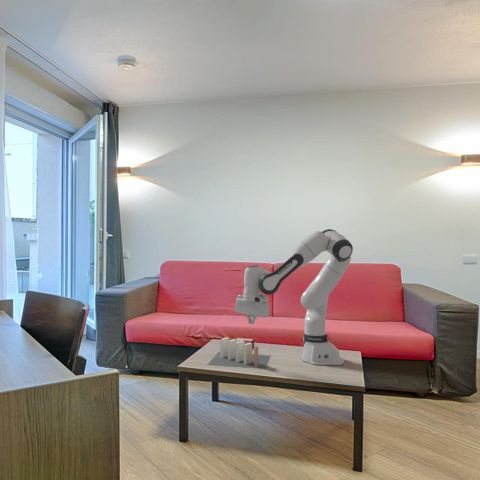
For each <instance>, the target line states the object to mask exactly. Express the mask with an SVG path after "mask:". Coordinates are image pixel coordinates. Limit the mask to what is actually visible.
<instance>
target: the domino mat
mask: <svg viewBox="0 0 480 480" xmlns="http://www.w3.org/2000/svg"><path fill="white" fill-rule="evenodd" d="M270 359H271V355H267V354H266V355H265V354H258V367H255V365H254V354H252V363H249V364H244V360H243V361H240V362H236V358H235V359H232V360H228V356H227V357H224V358H221V357H220V352H217V353H216V354H215V356H213V358H211V360H210V361H209V363H207V366H219V367H233V368H246V369H259V370H266V369H267V366H268V364H269V362H270Z"/></svg>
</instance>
